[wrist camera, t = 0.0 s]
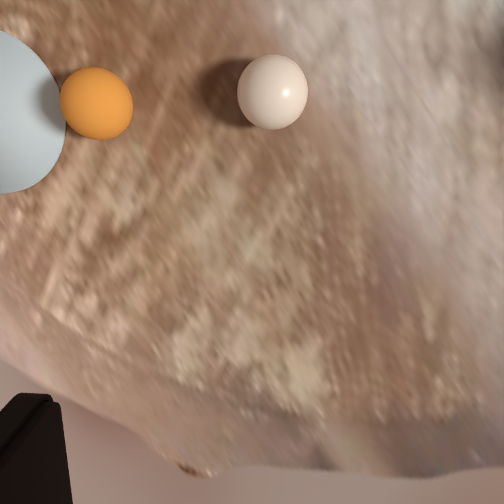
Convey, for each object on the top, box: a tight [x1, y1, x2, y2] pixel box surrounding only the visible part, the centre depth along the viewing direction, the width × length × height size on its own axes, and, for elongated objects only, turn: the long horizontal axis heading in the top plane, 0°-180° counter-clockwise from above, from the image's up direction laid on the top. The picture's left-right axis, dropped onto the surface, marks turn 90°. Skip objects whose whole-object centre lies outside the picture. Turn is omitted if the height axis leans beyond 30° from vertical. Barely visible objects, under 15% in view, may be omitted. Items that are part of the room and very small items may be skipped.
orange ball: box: [60, 67, 133, 140], centre depth 34 cm, size 6×6×6 cm
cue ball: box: [237, 54, 308, 130], centre depth 33 cm, size 6×6×6 cm
